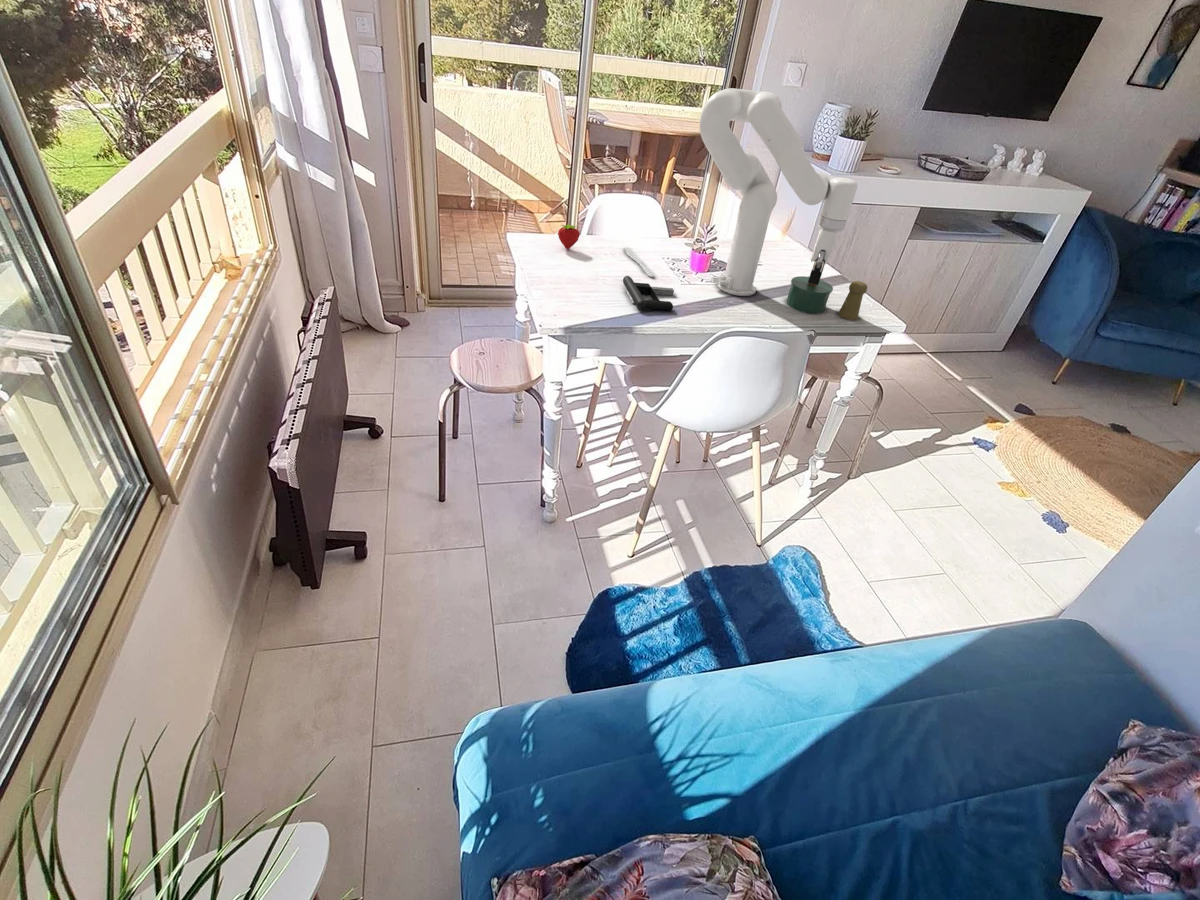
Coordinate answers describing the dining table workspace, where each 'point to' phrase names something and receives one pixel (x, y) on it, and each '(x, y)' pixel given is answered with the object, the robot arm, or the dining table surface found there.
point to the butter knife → (639, 262)
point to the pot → (806, 301)
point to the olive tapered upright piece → (853, 300)
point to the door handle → (645, 289)
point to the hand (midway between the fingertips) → (814, 278)
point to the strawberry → (568, 235)
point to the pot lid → (811, 285)
